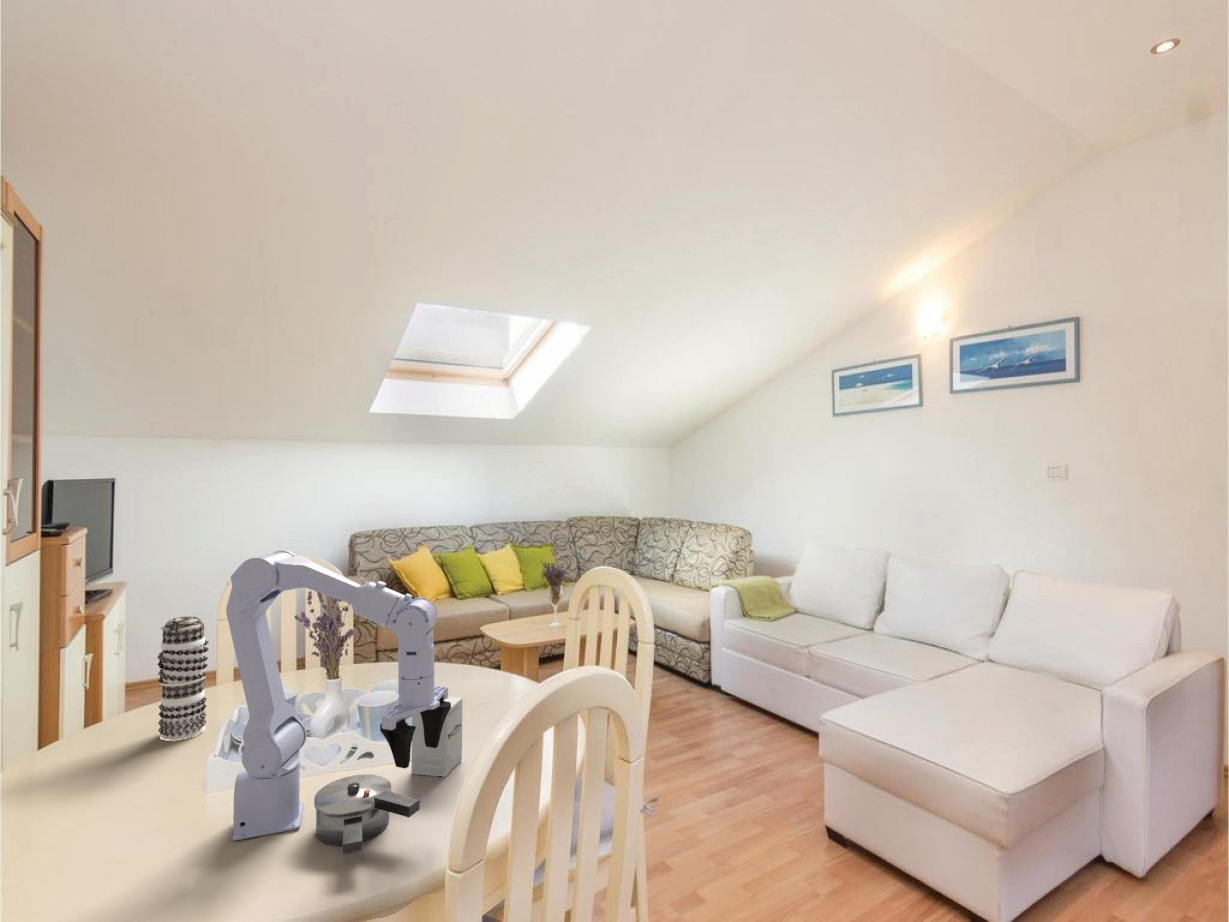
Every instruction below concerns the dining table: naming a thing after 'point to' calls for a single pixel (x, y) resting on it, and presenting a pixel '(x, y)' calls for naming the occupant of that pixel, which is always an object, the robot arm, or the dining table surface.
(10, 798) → the dining table surface
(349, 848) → the pot
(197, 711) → the decorative candle
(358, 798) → the lid
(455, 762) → the supplement box
